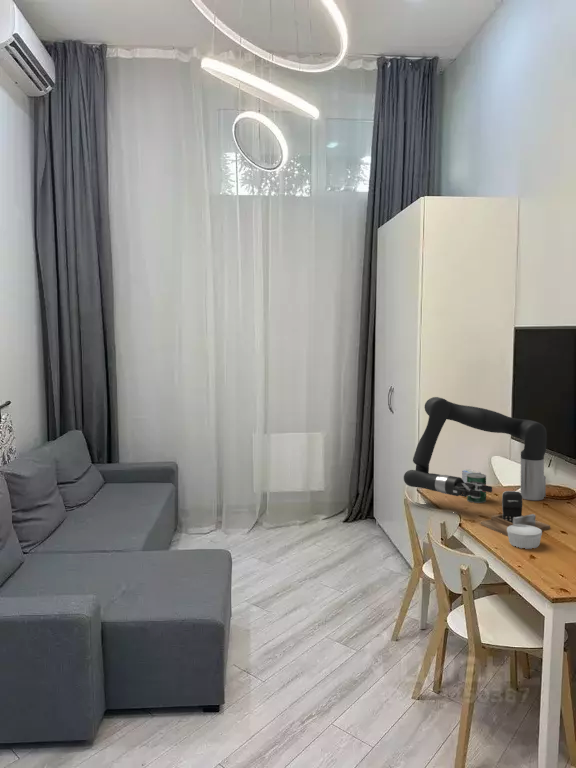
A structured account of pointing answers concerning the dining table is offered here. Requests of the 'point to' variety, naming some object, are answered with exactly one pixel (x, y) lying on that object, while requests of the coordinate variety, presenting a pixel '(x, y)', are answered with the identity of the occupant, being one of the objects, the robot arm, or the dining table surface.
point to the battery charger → (511, 505)
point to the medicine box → (465, 472)
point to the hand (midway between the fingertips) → (486, 491)
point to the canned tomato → (479, 478)
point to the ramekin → (524, 536)
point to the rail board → (501, 525)
